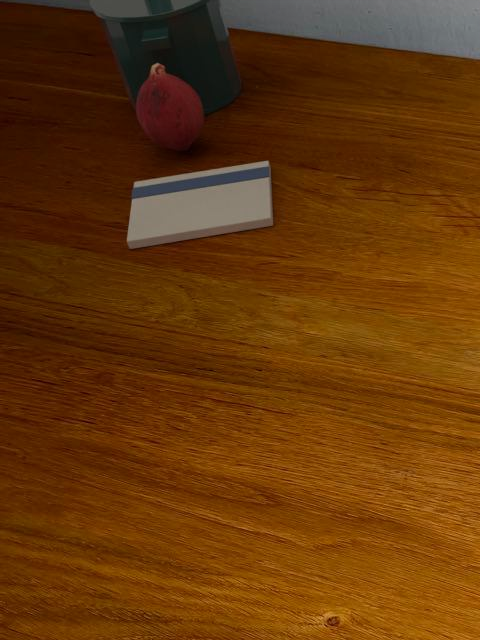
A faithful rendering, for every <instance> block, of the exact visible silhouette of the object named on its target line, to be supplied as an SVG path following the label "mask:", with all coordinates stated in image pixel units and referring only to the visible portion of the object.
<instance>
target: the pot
mask: <svg viewBox="0 0 480 640" xmlns="http://www.w3.org/2000/svg"><path fill="white" fill-rule="evenodd" d="M99 19H100V20H99V21H100V23H101V25H102V28H103V31H104V34H105V36H106V39H107V42H108V44H109V47H110V50H111V52H112V56H113V59H114V61H115V64H116V67H117V69H118V72H119V75H120V77H121V81H122V83H123V86H124V89H125V91H126V93H127V96H128V99H129V102H130V105H132V107H133V110H134V111H135V112H136V103H137V97H138V93H139V90H140V88H141V86H142V85H143V83H144V82H145V81H146V80H147V79H148V78H149V75H150V71H151V68H152V66H153V65H154V64H156V63H159V64H161V65H163V66H164V67H165V72H166V73H167V74H170V75H173V76H176V77H178V78H179V79H181V80H183V81H184V82H185V83H187V84H188V85H190V86H191V87H192V88H193V89H194V90H195V92H196V93H197V94H198V96H199V98H200V100H201V102H202V105H203V112H204V116H206V115H210V114H212V113H215V112H217V111H219V110H222V109H223V108H225V107H227V106H228V105H230V104H231V103H233V101H235V100H236V99H237V98H238V97H239V96H240V94H241V92H242V90H243V82H242V76H241V72H240V68H239V65H238V61H237V58H236V55H235V52H234V47H233V44H232V40H231V37H230V32H229V30H228V26H227V22H226V18H225V15H224V11H223V8H222V5H221V1H220V0H210V1H209V2H207V3H206V4H204V5H202V6H200V7H198V8H196V9H194V10H192V11H189V12H187V13H184V14H181V15H178V16H174V17H170V18H166V19H162V20H156V21H149V22H138V23H123V22H113V21H108V20H105V19H102V18H100V17H99Z"/></svg>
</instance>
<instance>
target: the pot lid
mask: <svg viewBox="0 0 480 640" xmlns="http://www.w3.org/2000/svg"><path fill="white" fill-rule="evenodd" d="M209 1H210V0H89V5H90V9H91V12H93V14H94V15H95V16H96V17H98V18H99V19H100V18H102V19H105V20H108V21H113V22H123V23H138V22H149V21H156V20H162V19H166V18H170V17H174V16H178V15H181V14H184V13H187V12H189V11H192V10H194V9H196V8H198V7H200V6H202V5H204V4H206V3H207V2H209Z"/></svg>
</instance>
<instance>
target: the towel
mask: <svg viewBox="0 0 480 640" xmlns="http://www.w3.org/2000/svg"><path fill="white" fill-rule="evenodd" d="M272 188H273V187H272V168H271V164H270V161H269V160H264V161H257V162H252V163H245V164H238V165H233V166H226V167H219V168H213V169H208V170H201V171H195V172H188V173H182V174H176V175H169V176H164V177H157V178H150V179H143V180H137V181H133V187H132V190H131V205H130V212H129V221H128V228H127V236H126V244H127V246H128V249H129V250H134V249H139V248H146V247H152V246H158V245H164V244H169V243H177V242H182V241H188V240H195V239H201V238H207V237H212V236H219V235H224V234H231V233H238V232H242V231H243V232H244V231H248V230H250V231H251V230H256V229H262V228H266V227H273V226H274V211H273V190H272Z"/></svg>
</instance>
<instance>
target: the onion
mask: <svg viewBox="0 0 480 640" xmlns="http://www.w3.org/2000/svg"><path fill="white" fill-rule="evenodd" d="M135 113H136V118H137V121H138V123H139V126H140V127H141V129H142V131H143V132H144V134H146V135H147V137H148V138H149V139H151V141H152V142H153V143H155V144H157V145H159V146H161V147H164V148H166V149H170V150H173V151H177V152H179V153H180V152H181V153H182V152H186V151H188V150H189V149H190V148H191V147H192V144H193V143H194V142H195V141H196V139H197V138H198V136H199V135H200V134H201V131H202V130H203V127H204V123H205V115H204V112H203V105H202V102H201V100H200V98H199V96H198V94H197V93H196V92H195V90H194V89H193V88H192V87H191V86H190V85H188V84H187V83H185V82H184V81H183V80H181V79H179V78H178V77H176V76H173V75H170V74H167V73H166V72H165V67H164V66H163V65H161V64H159V63H156V64H154V65H153V66H152V68H151V71H150V75H149V78H148V79H147V80H146V81H145V82H144V83H143V85H142V86H141V88H140V90H139V93H138V97H137V103H136V111H135Z"/></svg>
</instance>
